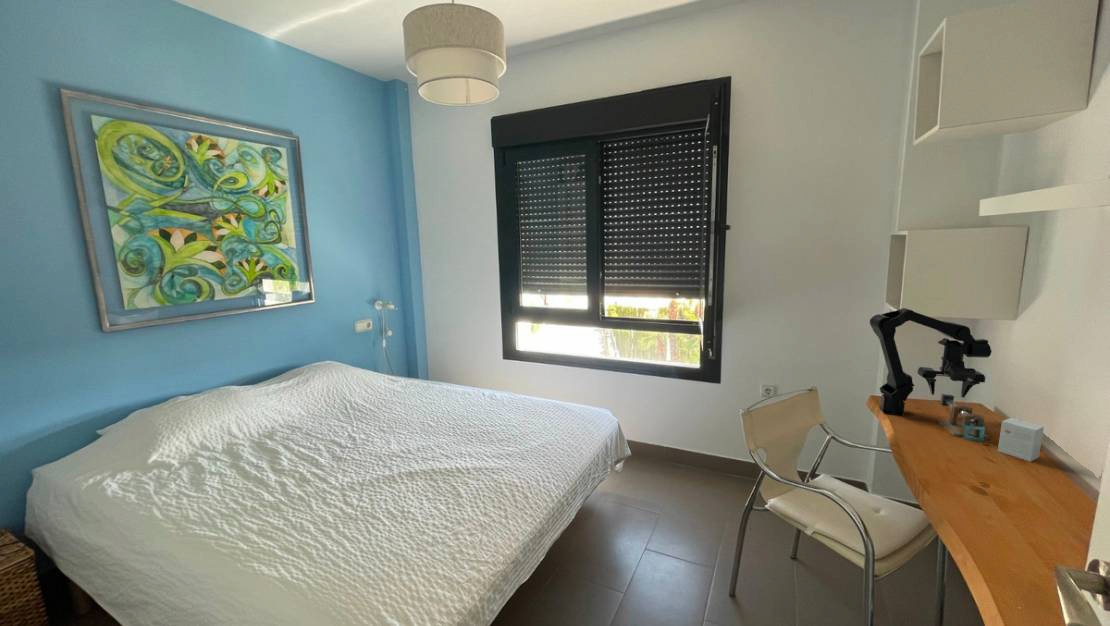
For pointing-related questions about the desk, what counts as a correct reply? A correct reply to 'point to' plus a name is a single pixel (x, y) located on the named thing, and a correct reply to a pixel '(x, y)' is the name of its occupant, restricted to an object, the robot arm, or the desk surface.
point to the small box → (1020, 439)
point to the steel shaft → (948, 401)
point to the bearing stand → (962, 422)
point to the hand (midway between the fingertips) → (947, 395)
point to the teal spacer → (979, 438)
